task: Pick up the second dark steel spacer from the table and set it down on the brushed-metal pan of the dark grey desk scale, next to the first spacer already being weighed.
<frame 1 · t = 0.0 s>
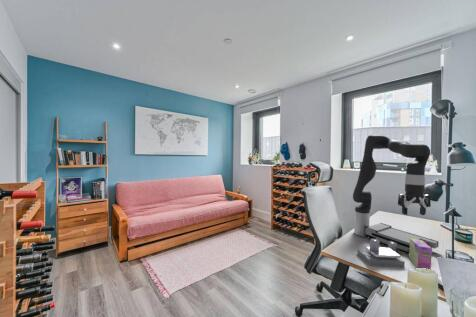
hand: (413, 214, 102), 29 cm above the table, fingers open, 8 cm apart
spacer b: (392, 252, 121), on the table
scale base: (379, 260, 112), on the table
spacer a: (374, 250, 112), point 5 cm above the table, touching scale pan
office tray: (399, 245, 132), on the table
scale pan: (382, 252, 112), point 5 cm above the table, slide at -0.7 cm, touching spacer a
box: (419, 264, 109), on the table
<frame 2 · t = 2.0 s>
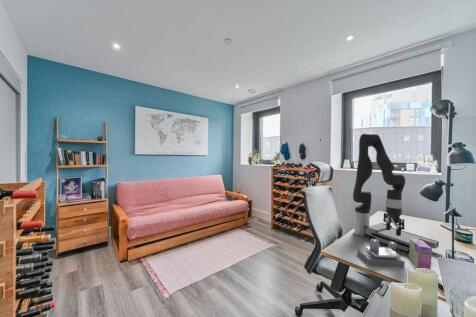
hand: (393, 232, 121), 12 cm above the table, fingers open, 8 cm apart
nothing on the table moved.
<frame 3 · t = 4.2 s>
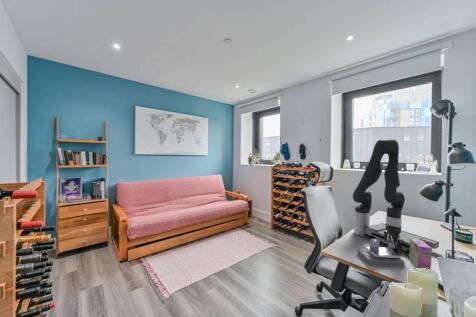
hand: (392, 251, 121), 1 cm above the table, fingers closed on spacer b, 4 cm apart
spacer b: (392, 252, 121), on the table, touching gripper
everything else where it was.
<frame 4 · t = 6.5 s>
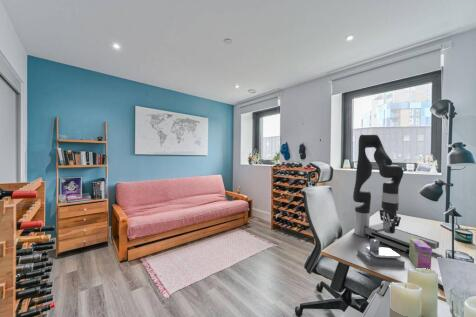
hand: (388, 230, 111), 17 cm above the table, fingers closed on spacer b, 4 cm apart
spacer b: (388, 232, 111), point 16 cm above the table, touching gripper
everything else where it was.
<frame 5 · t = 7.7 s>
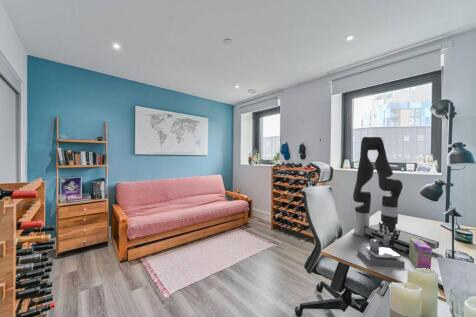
hand: (388, 243, 111), 10 cm above the table, fingers closed on spacer b, 4 cm apart
spacer b: (388, 245, 111), point 9 cm above the table, touching gripper
everything else where it was.
when the fingers open (8 cm above the table, at t = 8.8 s): spacer b drops 2 cm, resting on scale pan.
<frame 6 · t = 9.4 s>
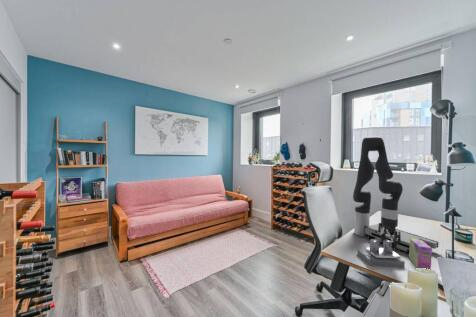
hand: (388, 245, 111), 9 cm above the table, fingers open, 8 cm apart
spacer b: (387, 251, 112), point 5 cm above the table, touching scale pan
scale pan: (382, 252, 112), point 4 cm above the table, slide at -1.0 cm, touching spacer a, spacer b
everything else where it was.
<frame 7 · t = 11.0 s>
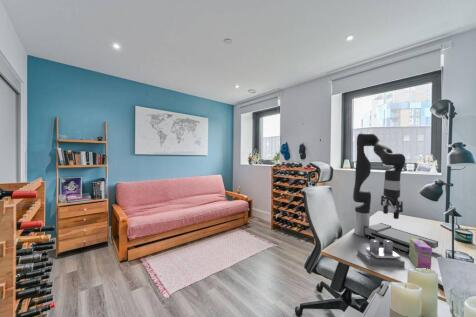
hand: (390, 216, 114), 25 cm above the table, fingers open, 8 cm apart
nothing on the table moved.
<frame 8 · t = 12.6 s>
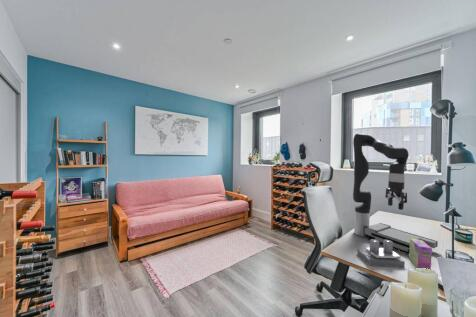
hand: (395, 207, 119), 28 cm above the table, fingers open, 8 cm apart
nothing on the table moved.
at the end: spacer b inside the target area on the scale pan (0.1 cm from its centre), point 6.0 cm above the scale pan's base; spacer b tilted 0°; the gripper is holding nothing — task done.
